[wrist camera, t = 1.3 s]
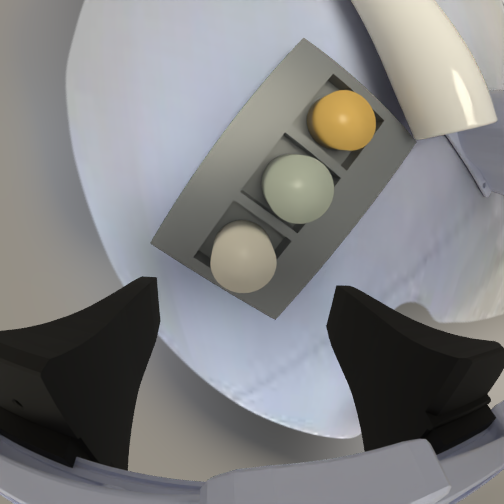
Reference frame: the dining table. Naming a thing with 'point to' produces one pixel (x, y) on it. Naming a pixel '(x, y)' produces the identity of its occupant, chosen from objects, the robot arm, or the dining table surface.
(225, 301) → the dining table surface
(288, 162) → the button grey
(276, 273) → the panel
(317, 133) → the button amber
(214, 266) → the button cream
